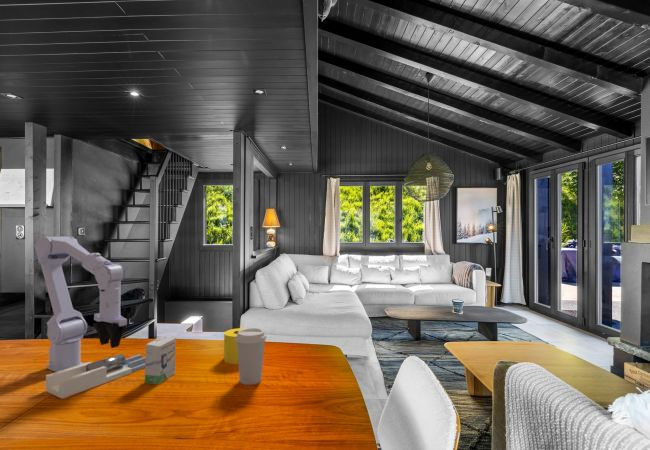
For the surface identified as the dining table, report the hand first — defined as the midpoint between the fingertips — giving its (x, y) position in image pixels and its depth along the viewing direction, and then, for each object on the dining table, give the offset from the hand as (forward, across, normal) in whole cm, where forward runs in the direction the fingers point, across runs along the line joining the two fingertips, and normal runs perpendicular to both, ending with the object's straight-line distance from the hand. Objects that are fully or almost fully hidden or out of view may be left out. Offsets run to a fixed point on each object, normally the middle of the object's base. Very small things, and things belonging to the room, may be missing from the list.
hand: (109, 345), depth 115 cm
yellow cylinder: (+10, +25, +32) cm, 41 cm away
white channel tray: (+9, 0, -6) cm, 11 cm away
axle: (+6, 0, -1) cm, 6 cm away
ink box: (+10, +16, +6) cm, 20 cm away
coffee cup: (+10, +41, +20) cm, 46 cm away
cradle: (+9, 0, +8) cm, 13 cm away
